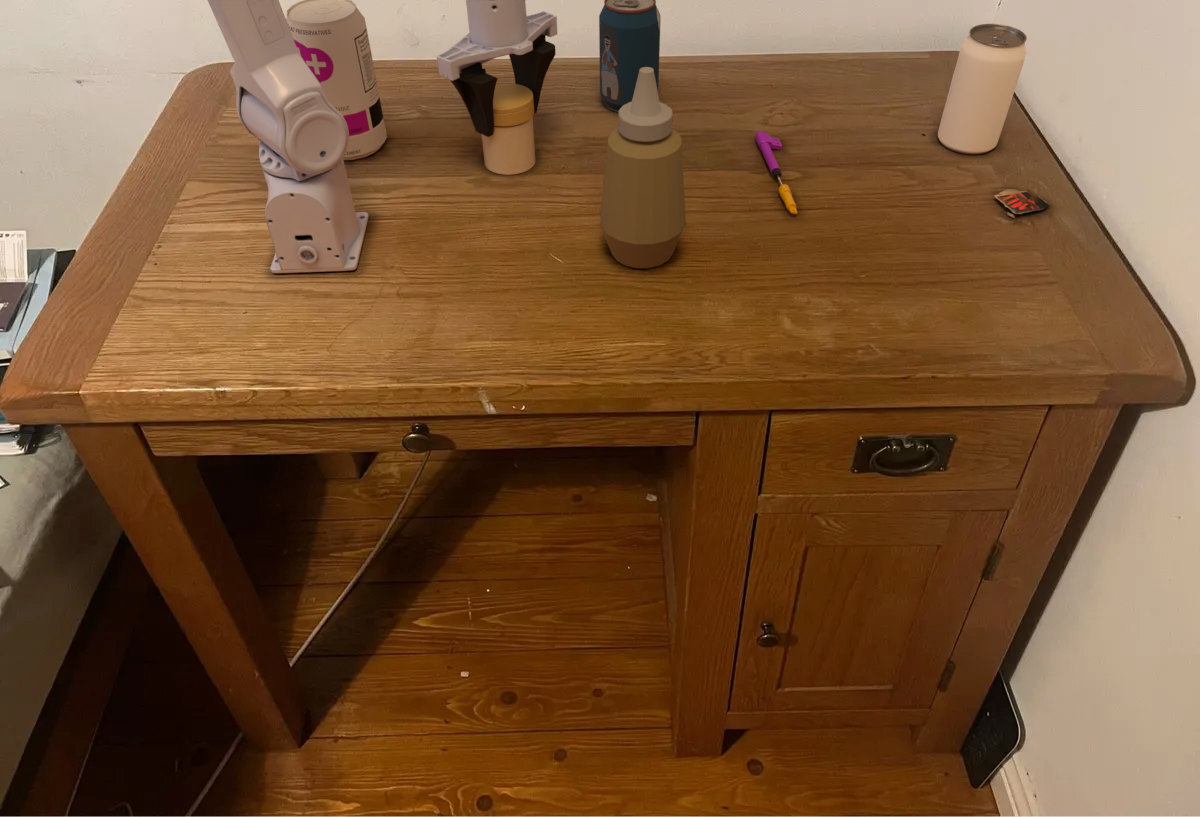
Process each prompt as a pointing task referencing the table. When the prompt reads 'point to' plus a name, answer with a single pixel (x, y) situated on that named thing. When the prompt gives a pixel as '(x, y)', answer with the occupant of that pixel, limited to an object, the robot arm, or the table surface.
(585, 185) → the table surface
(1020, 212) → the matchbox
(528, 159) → the jar
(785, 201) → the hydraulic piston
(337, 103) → the supplement can
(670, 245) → the squeeze bottle
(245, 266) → the table surface
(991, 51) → the can
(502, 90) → the lid
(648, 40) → the soda can
